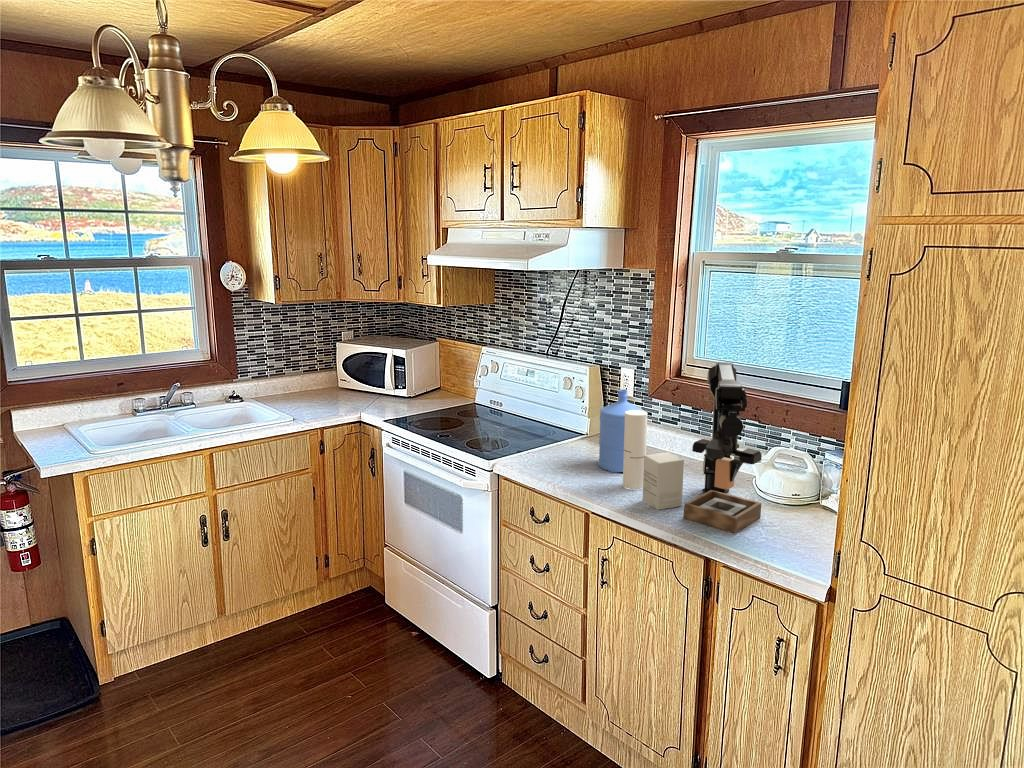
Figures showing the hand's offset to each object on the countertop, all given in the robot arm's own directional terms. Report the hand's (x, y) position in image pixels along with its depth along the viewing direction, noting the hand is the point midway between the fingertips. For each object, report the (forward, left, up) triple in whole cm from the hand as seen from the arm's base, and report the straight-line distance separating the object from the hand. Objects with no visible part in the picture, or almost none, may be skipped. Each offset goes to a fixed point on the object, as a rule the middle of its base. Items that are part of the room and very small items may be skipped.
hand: (724, 479), depth 201 cm
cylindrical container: (-34, +5, -12) cm, 36 cm away
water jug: (-49, +19, -12) cm, 54 cm away
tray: (0, 0, -12) cm, 12 cm away
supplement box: (-19, -2, -12) cm, 23 cm away
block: (0, 0, -2) cm, 2 cm away
